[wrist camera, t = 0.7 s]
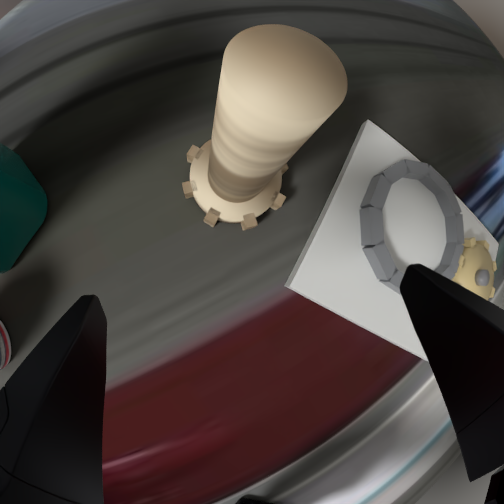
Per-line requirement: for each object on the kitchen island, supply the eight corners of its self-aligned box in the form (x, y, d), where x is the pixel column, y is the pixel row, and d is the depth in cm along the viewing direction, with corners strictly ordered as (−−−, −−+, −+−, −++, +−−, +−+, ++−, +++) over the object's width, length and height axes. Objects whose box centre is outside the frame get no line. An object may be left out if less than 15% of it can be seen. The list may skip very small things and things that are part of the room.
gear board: (448, 371, 25) (470, 380, 21) (284, 285, 22) (300, 290, 18) (491, 244, 27) (514, 242, 23) (361, 124, 24) (382, 107, 20)
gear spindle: (254, 249, 22) (347, 229, 8) (163, 199, 21) (112, 100, 7) (299, 166, 22) (408, 68, 9) (215, 119, 21) (242, -24, 8)
